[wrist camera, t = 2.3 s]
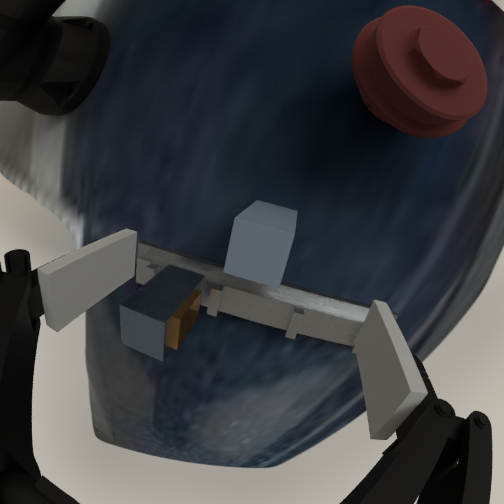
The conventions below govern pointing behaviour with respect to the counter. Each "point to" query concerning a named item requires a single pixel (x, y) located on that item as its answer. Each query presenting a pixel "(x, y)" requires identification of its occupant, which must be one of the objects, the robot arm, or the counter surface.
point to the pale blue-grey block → (261, 243)
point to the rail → (223, 303)
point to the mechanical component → (418, 72)
